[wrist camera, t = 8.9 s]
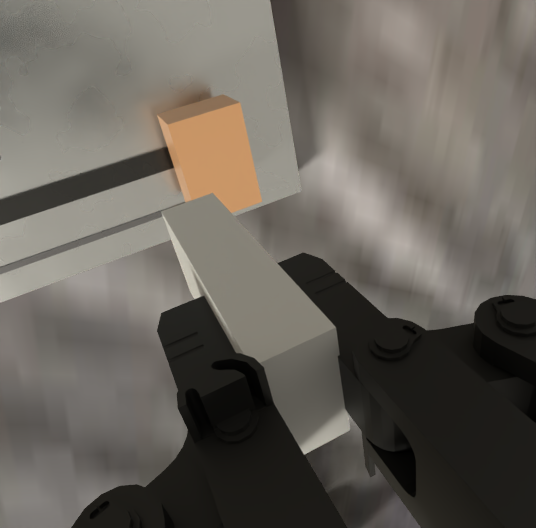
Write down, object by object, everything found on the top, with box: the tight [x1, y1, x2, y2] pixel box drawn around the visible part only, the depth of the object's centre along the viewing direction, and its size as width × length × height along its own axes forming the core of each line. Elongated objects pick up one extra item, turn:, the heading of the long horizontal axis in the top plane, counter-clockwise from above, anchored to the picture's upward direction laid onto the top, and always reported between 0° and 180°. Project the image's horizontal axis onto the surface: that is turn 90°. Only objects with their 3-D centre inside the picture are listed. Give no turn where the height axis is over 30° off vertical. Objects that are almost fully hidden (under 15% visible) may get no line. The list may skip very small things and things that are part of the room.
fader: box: [157, 94, 262, 213], centre depth 20 cm, size 3×4×3 cm
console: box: [0, 0, 302, 303], centre depth 18 cm, size 20×18×2 cm
